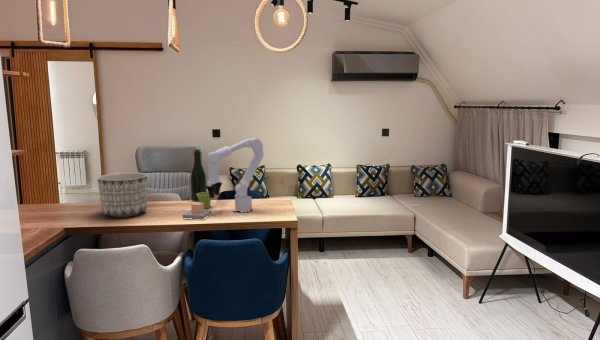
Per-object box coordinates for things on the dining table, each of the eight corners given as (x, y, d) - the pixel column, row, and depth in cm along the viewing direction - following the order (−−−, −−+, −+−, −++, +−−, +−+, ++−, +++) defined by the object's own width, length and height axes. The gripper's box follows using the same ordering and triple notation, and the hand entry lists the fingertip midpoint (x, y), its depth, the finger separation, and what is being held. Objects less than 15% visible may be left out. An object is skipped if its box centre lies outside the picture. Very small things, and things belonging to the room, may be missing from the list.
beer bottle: (188, 201, 281) (186, 150, 276) (193, 198, 291) (190, 148, 286) (205, 201, 281) (203, 150, 276) (208, 198, 291) (207, 148, 286)
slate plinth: (211, 215, 250) (211, 210, 250) (203, 221, 238) (203, 215, 238) (192, 214, 252) (191, 209, 252) (182, 220, 241) (182, 214, 240)
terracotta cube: (204, 211, 247) (203, 202, 246) (200, 213, 242) (199, 205, 241) (195, 211, 248) (195, 202, 247) (191, 213, 243) (191, 204, 242)
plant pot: (194, 209, 262) (193, 194, 261) (202, 205, 271) (201, 191, 270) (208, 210, 260) (207, 195, 258) (215, 206, 268) (215, 192, 267)
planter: (101, 210, 259) (98, 174, 255) (148, 206, 268) (146, 171, 264) (98, 222, 235) (95, 181, 231) (150, 217, 244) (148, 178, 240)
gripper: (211, 170, 259) (212, 193, 261) (202, 175, 245) (202, 198, 247) (223, 171, 258) (224, 193, 260) (214, 175, 244) (214, 199, 246)
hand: (214, 196), depth 253 cm, fingers open, 7 cm apart
